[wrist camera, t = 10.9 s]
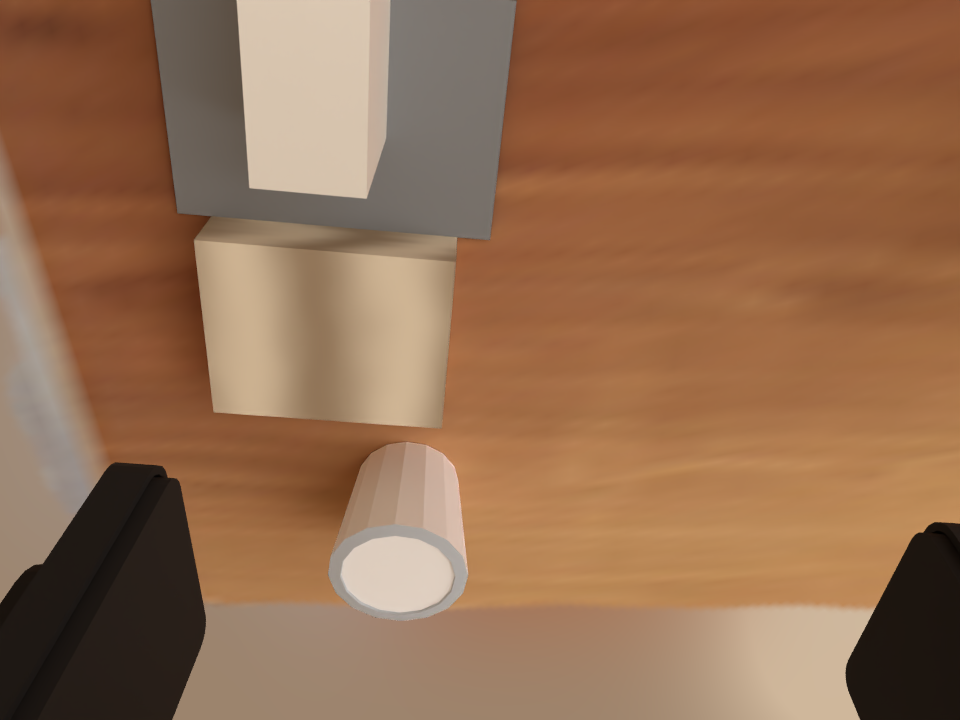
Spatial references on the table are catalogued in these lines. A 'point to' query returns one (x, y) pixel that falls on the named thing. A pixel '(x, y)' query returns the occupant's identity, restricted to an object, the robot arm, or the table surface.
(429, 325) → the birch step
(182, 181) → the grey mat
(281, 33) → the cream block
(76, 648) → the robot arm
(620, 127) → the table surface
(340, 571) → the pale pink cylinder
